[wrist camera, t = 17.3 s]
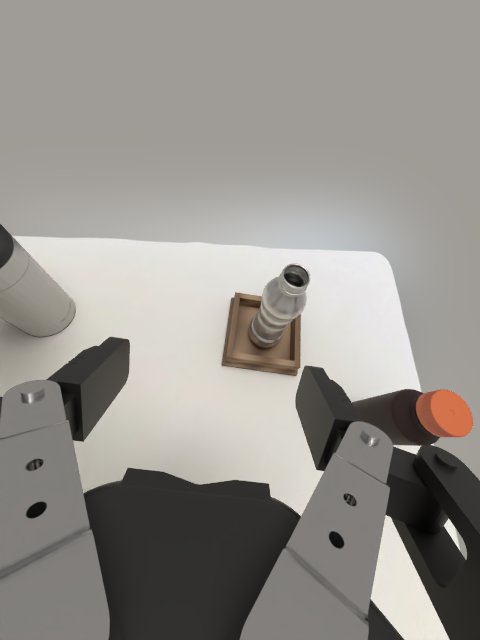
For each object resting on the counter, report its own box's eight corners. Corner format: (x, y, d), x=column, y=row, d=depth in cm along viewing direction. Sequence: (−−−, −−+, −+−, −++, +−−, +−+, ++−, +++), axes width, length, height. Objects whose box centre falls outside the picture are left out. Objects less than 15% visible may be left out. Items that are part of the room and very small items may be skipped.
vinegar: (343, 446, 44) (439, 452, 26) (331, 405, 46) (412, 384, 28) (378, 440, 45) (494, 442, 27) (365, 400, 48) (462, 377, 30)
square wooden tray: (221, 365, 47) (223, 359, 43) (231, 299, 53) (233, 289, 50) (295, 375, 48) (302, 370, 44) (296, 310, 54) (303, 301, 50)
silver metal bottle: (280, 321, 51) (320, 258, 33) (278, 353, 48) (322, 303, 30) (248, 316, 51) (272, 249, 33) (245, 348, 48) (269, 294, 30)
